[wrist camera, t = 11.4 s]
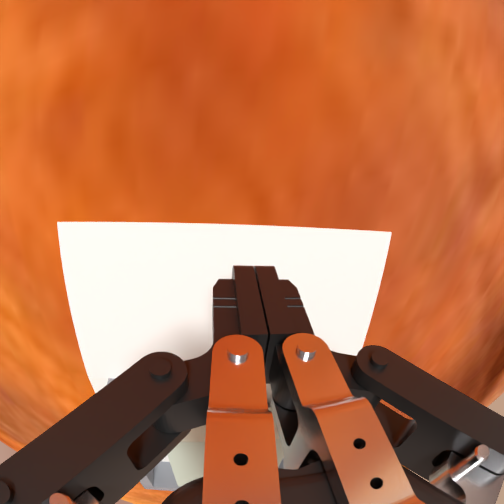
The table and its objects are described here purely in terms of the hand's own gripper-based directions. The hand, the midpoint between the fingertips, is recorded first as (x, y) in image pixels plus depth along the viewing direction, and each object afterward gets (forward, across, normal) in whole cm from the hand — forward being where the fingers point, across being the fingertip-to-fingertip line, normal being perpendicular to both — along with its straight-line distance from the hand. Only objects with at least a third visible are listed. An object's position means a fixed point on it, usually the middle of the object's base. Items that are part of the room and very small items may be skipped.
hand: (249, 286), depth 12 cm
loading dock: (+4, +1, +12) cm, 13 cm away
